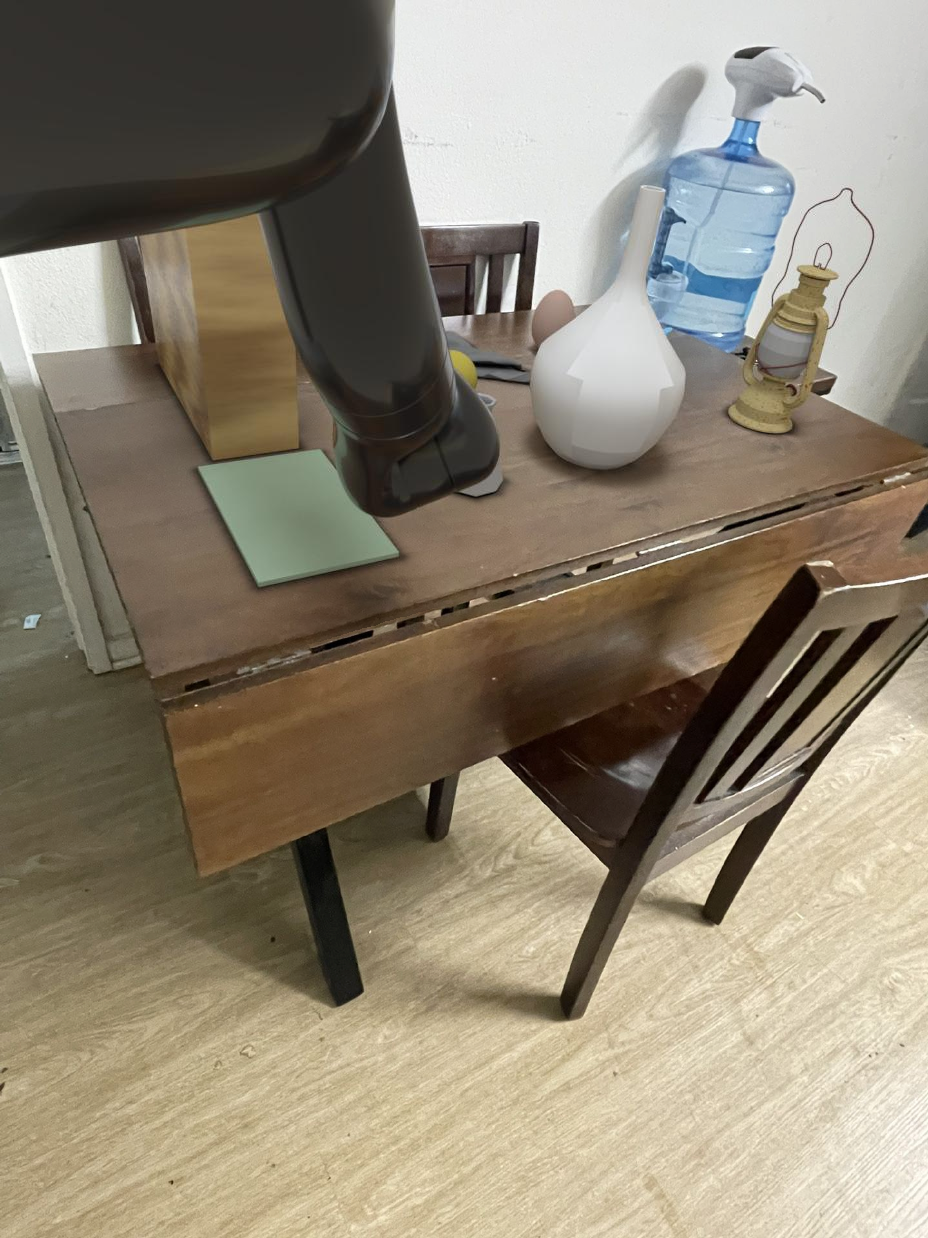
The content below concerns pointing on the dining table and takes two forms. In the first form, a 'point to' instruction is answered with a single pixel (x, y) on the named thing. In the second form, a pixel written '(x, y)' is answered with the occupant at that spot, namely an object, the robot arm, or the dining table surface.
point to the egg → (551, 315)
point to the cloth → (488, 361)
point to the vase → (611, 365)
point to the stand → (224, 336)
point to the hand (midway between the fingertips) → (261, 68)
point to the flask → (496, 476)
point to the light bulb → (464, 367)
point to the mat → (293, 517)
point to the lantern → (788, 348)
